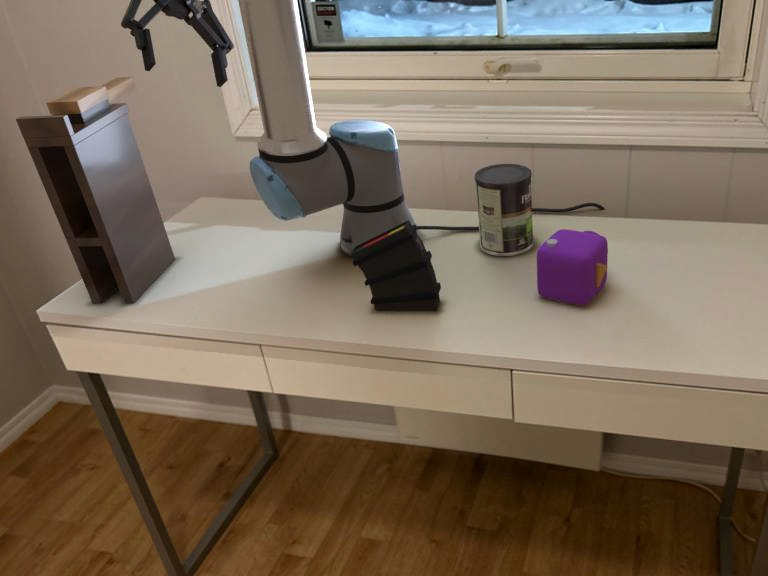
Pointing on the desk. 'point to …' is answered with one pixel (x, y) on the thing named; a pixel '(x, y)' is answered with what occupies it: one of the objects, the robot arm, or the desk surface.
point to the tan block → (91, 100)
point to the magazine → (398, 270)
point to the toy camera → (572, 266)
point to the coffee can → (504, 209)
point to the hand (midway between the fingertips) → (187, 75)
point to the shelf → (101, 200)
